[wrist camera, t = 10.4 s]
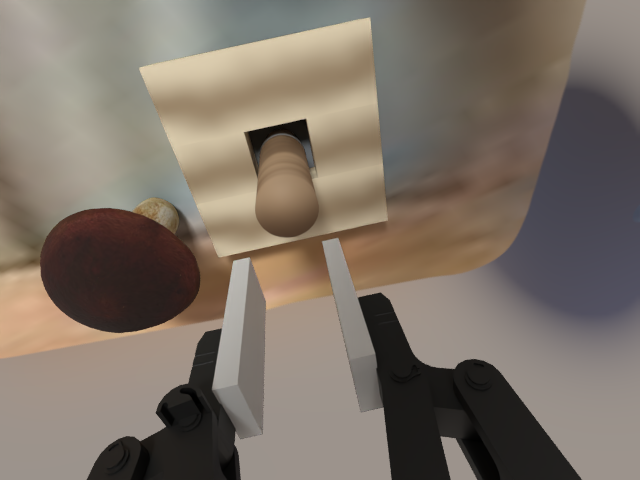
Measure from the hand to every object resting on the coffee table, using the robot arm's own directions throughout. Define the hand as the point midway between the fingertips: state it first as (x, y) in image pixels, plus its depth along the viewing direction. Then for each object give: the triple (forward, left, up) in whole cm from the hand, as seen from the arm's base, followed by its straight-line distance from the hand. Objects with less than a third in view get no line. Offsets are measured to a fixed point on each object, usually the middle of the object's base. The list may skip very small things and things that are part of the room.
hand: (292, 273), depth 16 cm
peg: (0, 0, -21) cm, 21 cm away
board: (0, 0, -21) cm, 21 cm away
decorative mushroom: (+4, -14, -21) cm, 25 cm away
